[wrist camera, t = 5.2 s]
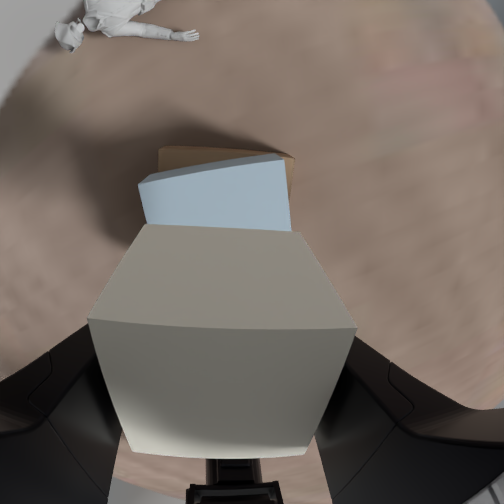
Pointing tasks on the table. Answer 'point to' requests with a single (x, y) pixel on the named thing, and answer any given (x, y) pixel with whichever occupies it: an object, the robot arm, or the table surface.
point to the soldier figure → (115, 23)
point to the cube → (220, 342)
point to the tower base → (212, 158)
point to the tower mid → (220, 194)
